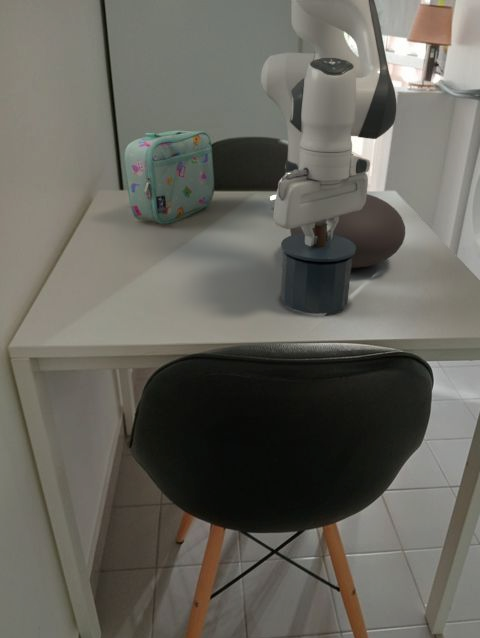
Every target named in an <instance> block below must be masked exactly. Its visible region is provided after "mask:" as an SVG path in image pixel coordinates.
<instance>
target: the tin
mask: <svg viewBox="0 0 480 638" xmlns="http://www.w3.org/2000/svg"><path fill="white" fill-rule="evenodd" d="M351 265H352V256H351V257H349V258H347V259H344V260H339V261H332V262H316V261H307V260H302V259H298V258H295V257H292V256H290V255H288V254H286V253H285V252H284V251H283V250H282V268H281V269H282V270H281V289H280V299H281V301H282V302H283V304H284V305H285V306H287V307H289V308H290V309H292V310H295V311H298V312H302V313H307V314H316V315H318V314H320V315H321V314H324V315H323V316H324V317H326V316H332V315H337V314H339V313H342V312H343V311H344V310H346V308H347V306H348V301H349V292H350V282H351V275H352V273H351V272H352V268H351Z"/></svg>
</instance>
